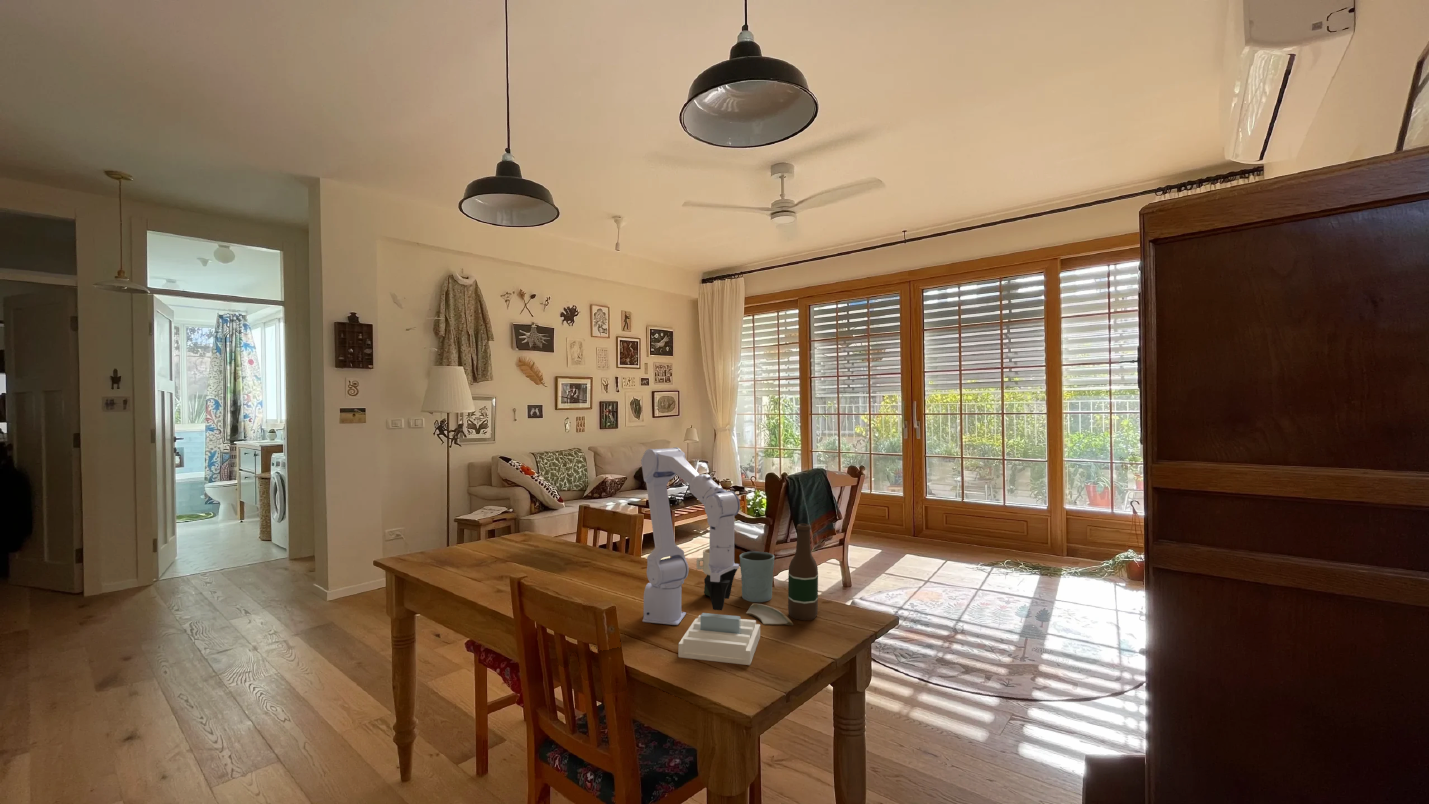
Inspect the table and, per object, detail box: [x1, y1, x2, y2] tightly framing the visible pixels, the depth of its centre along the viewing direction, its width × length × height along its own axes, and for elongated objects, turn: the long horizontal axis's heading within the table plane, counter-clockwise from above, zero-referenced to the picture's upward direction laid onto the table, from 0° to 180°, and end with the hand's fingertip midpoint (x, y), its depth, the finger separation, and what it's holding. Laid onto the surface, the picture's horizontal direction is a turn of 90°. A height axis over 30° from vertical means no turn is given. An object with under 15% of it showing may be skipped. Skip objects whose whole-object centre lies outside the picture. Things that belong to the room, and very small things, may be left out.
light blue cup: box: [739, 551, 775, 603], centre depth 165 cm, size 10×10×12 cm
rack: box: [677, 614, 761, 666], centre depth 131 cm, size 16×15×4 cm
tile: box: [700, 612, 742, 634], centre depth 131 cm, size 9×2×6 cm, turn 77°
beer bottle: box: [787, 523, 819, 621], centre depth 151 cm, size 8×8×24 cm
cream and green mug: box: [696, 547, 711, 597], centre depth 166 cm, size 11×7×13 cm, turn 104°
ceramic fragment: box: [745, 603, 794, 626], centre depth 147 cm, size 14×5×4 cm, turn 48°
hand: (721, 603), depth 131 cm, fingers open, 7 cm apart
